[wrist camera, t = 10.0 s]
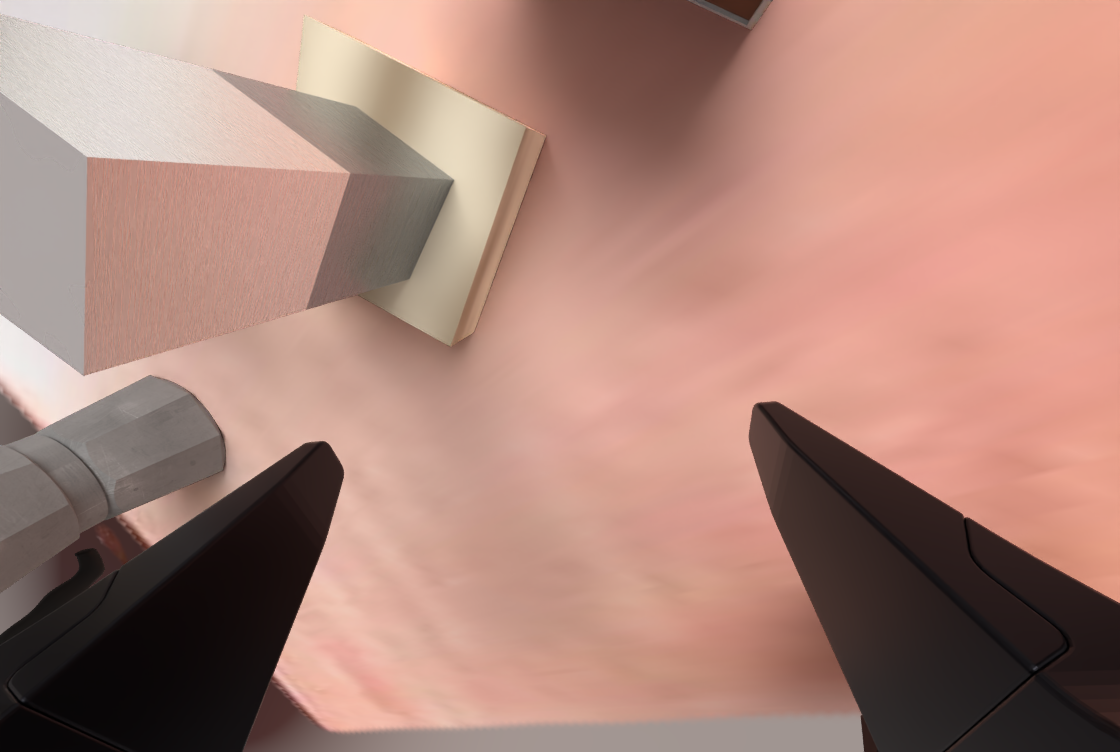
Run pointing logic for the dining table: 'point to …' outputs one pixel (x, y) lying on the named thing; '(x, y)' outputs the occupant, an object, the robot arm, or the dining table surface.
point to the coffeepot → (97, 478)
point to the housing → (186, 199)
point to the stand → (454, 147)
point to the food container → (736, 10)
